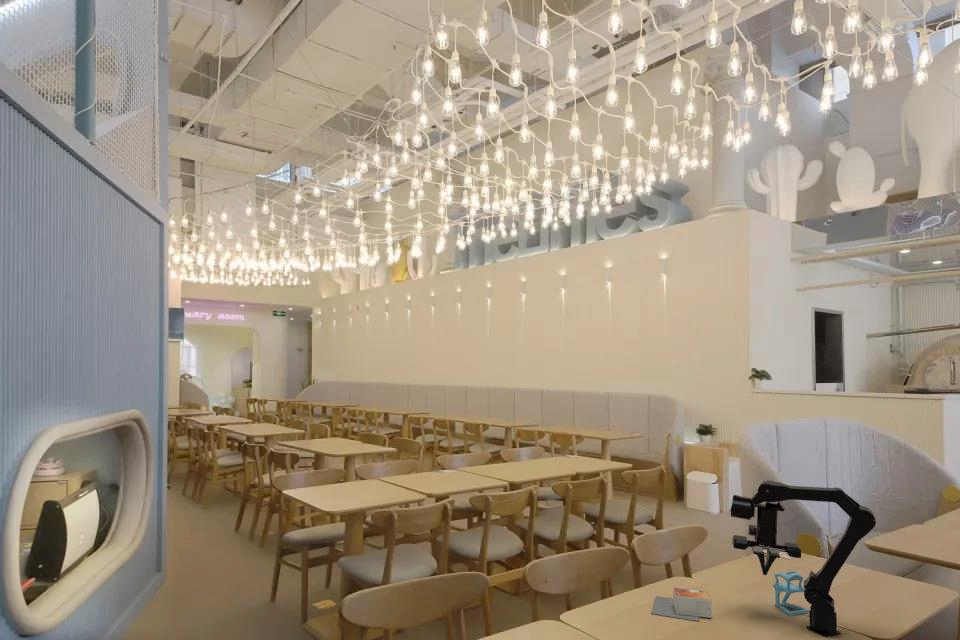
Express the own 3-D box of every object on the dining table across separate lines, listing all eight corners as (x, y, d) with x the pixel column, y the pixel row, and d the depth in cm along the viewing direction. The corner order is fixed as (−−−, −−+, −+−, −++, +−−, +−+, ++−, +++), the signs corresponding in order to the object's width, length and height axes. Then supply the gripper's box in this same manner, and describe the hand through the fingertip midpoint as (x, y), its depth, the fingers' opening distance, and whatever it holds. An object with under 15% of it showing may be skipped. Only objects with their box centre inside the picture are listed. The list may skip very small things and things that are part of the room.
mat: (700, 603, 200) (700, 602, 201) (699, 621, 186) (699, 620, 186) (655, 596, 206) (655, 595, 206) (651, 614, 191) (651, 613, 191)
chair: (788, 603, 202) (787, 565, 203) (808, 613, 195) (808, 573, 195) (769, 605, 200) (768, 567, 201) (789, 615, 192) (789, 575, 193)
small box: (712, 599, 188) (675, 595, 190) (712, 618, 188) (675, 614, 190) (707, 590, 196) (673, 586, 198) (707, 608, 196) (673, 605, 198)
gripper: (795, 521, 195) (793, 571, 194) (731, 512, 201) (729, 561, 200) (802, 530, 184) (800, 583, 184) (735, 520, 190) (732, 572, 189)
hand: (764, 574), depth 189 cm, fingers closed
